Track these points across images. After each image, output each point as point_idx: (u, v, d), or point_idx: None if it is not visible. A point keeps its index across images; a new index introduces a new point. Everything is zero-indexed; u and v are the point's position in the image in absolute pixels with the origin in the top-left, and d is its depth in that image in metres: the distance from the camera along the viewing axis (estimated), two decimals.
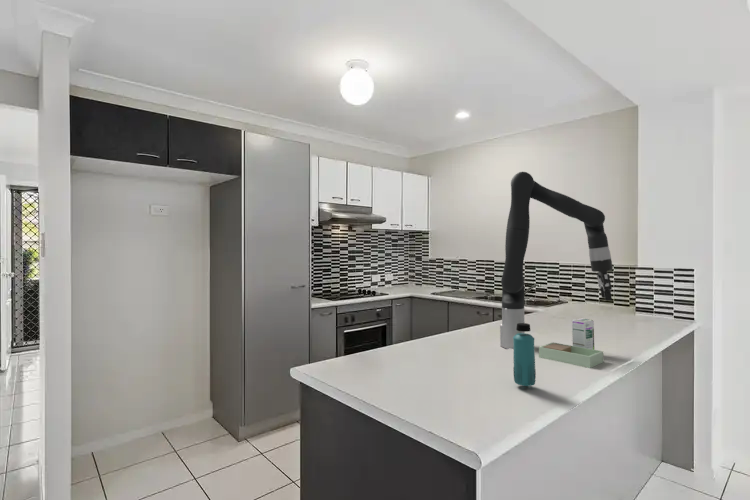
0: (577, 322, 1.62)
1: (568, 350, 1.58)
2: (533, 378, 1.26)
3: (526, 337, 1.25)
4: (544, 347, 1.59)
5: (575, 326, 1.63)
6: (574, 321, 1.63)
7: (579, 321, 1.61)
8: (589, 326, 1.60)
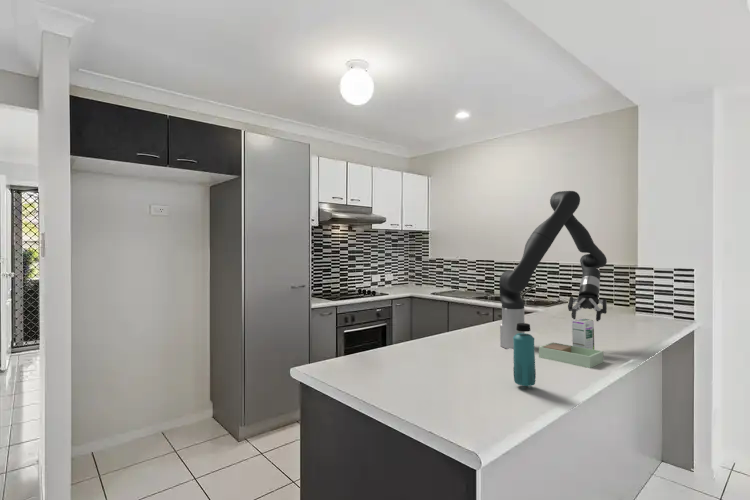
0: (577, 322, 1.62)
1: (568, 350, 1.58)
2: (533, 378, 1.26)
3: (526, 337, 1.25)
4: (544, 347, 1.59)
5: (575, 326, 1.63)
6: (574, 321, 1.63)
7: (579, 321, 1.61)
8: (589, 326, 1.60)
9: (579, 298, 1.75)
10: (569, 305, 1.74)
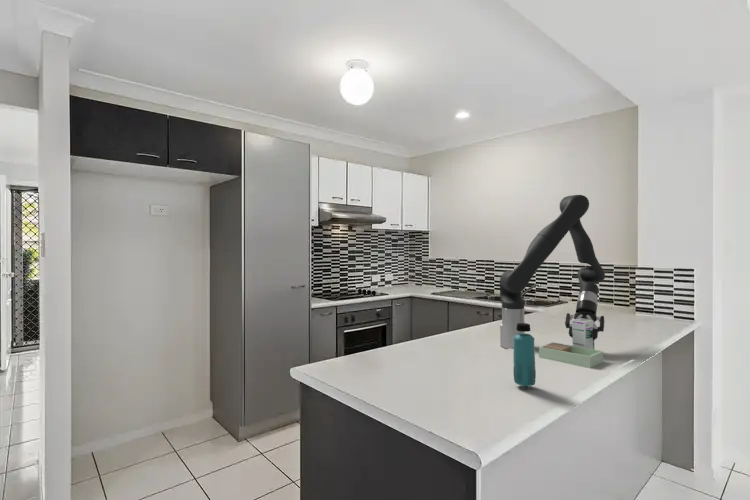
0: (577, 322, 1.62)
1: (568, 350, 1.58)
2: (533, 378, 1.26)
3: (526, 337, 1.25)
4: (544, 347, 1.59)
5: (575, 326, 1.63)
6: (574, 321, 1.63)
7: (579, 321, 1.61)
8: (589, 326, 1.60)
9: (576, 314, 1.68)
10: (566, 322, 1.68)
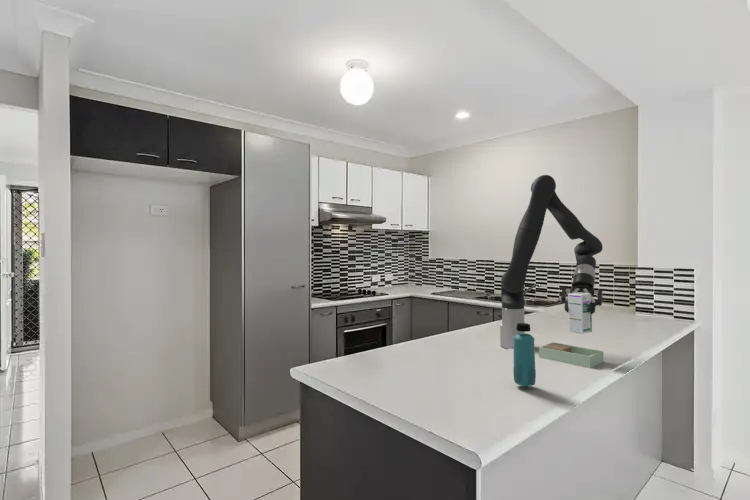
0: (573, 295, 1.52)
1: (568, 350, 1.58)
2: (533, 378, 1.26)
3: (526, 337, 1.25)
4: (544, 347, 1.59)
5: (571, 300, 1.53)
6: (570, 295, 1.53)
7: (576, 294, 1.51)
8: (587, 300, 1.51)
9: (572, 289, 1.59)
10: (562, 297, 1.58)
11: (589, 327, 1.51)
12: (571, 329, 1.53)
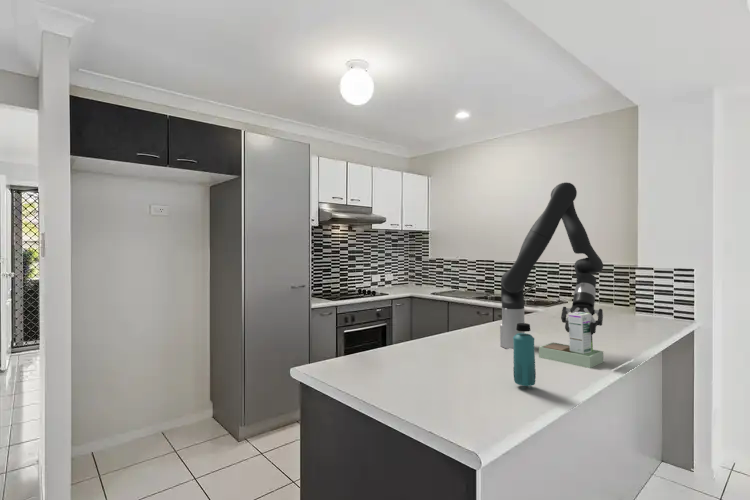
0: (573, 315, 1.52)
1: (568, 350, 1.58)
2: (533, 378, 1.26)
3: (526, 337, 1.25)
4: (544, 347, 1.59)
5: (571, 320, 1.53)
6: (571, 315, 1.53)
7: (576, 315, 1.51)
8: (587, 320, 1.51)
9: (573, 308, 1.59)
10: (562, 316, 1.58)
11: (590, 347, 1.51)
12: (572, 349, 1.53)
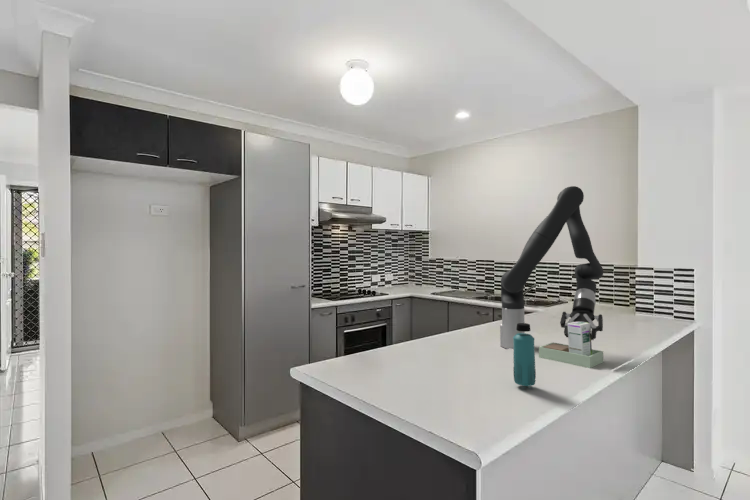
0: (573, 325, 1.52)
1: (568, 350, 1.58)
2: (533, 378, 1.26)
3: (526, 337, 1.25)
4: (544, 347, 1.59)
5: (571, 330, 1.53)
6: (570, 324, 1.53)
7: (575, 324, 1.51)
8: (586, 330, 1.51)
9: (573, 313, 1.58)
10: (562, 321, 1.58)
11: None
12: None
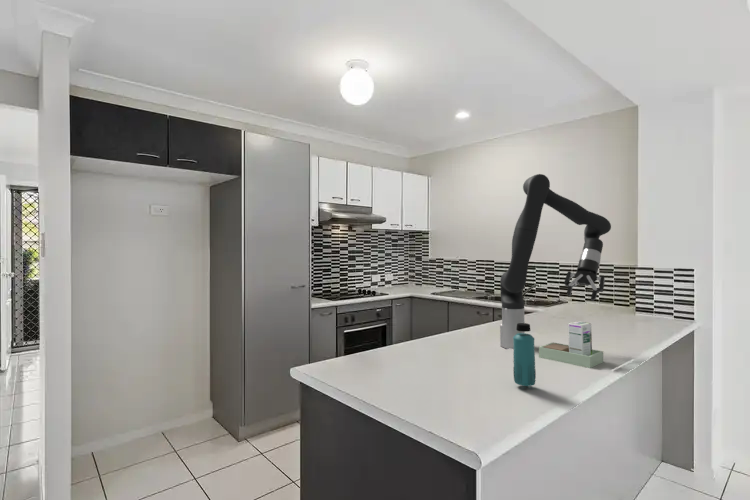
0: (573, 325, 1.52)
1: (568, 350, 1.58)
2: (533, 378, 1.26)
3: (526, 337, 1.25)
4: (544, 347, 1.59)
5: (571, 330, 1.53)
6: (571, 324, 1.53)
7: (576, 324, 1.51)
8: (587, 330, 1.51)
9: (577, 273, 1.69)
10: (566, 281, 1.70)
11: None
12: None
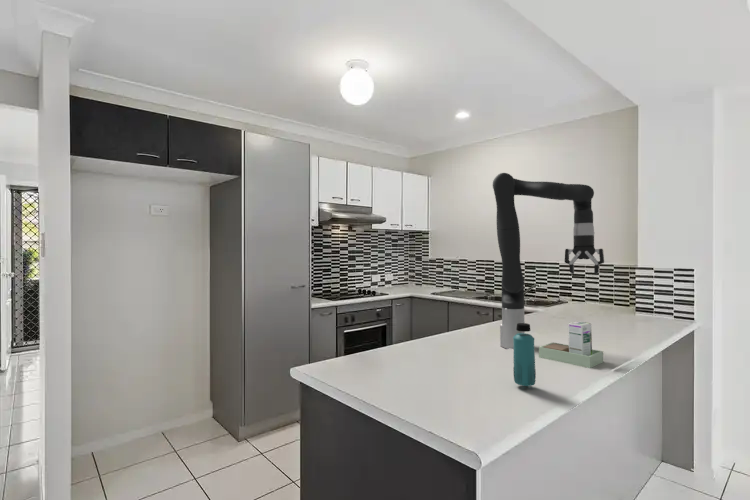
0: (573, 325, 1.52)
1: (568, 350, 1.58)
2: (533, 378, 1.26)
3: (526, 337, 1.25)
4: (544, 347, 1.59)
5: (571, 330, 1.53)
6: (571, 324, 1.53)
7: (576, 324, 1.51)
8: (587, 330, 1.51)
9: (575, 250, 1.69)
10: (566, 260, 1.71)
11: None
12: None
